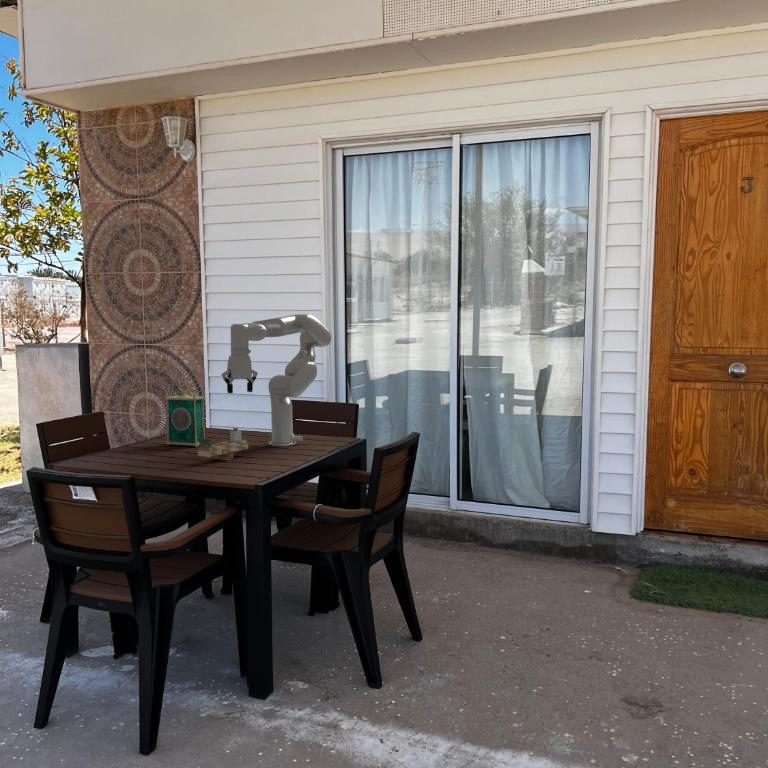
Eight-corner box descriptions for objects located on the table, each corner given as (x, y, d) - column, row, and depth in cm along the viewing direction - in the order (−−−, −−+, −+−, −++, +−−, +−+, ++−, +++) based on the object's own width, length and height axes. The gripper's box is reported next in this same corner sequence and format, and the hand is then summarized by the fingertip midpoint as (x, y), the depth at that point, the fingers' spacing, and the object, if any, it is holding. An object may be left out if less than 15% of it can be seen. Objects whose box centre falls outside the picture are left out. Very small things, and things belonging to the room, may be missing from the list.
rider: (237, 443, 320) (237, 427, 319) (241, 443, 318) (241, 427, 317) (230, 444, 316) (230, 428, 316) (234, 445, 315) (234, 428, 314)
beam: (237, 454, 323) (236, 430, 322) (249, 455, 319) (248, 432, 318) (197, 462, 305) (196, 438, 304) (209, 464, 301) (208, 439, 300)
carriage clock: (165, 446, 345) (162, 380, 342) (176, 442, 353) (174, 378, 350) (196, 447, 339) (194, 381, 336) (207, 444, 347) (205, 379, 344)
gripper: (252, 352, 333) (252, 390, 334) (217, 352, 321) (217, 393, 322) (261, 352, 327) (261, 392, 328) (226, 353, 316) (226, 394, 317)
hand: (240, 392), depth 325 cm, fingers open, 9 cm apart
